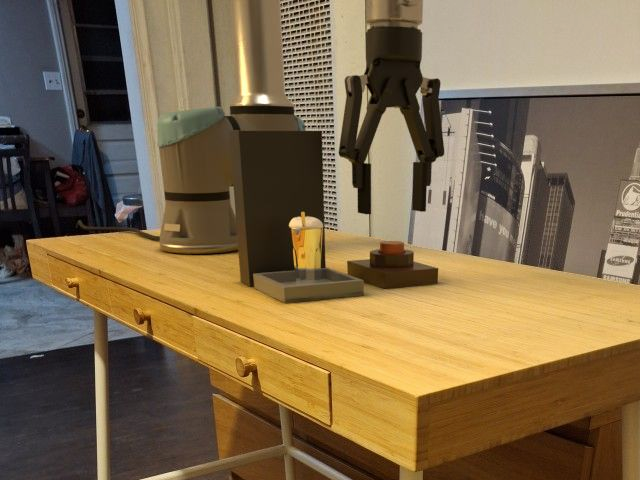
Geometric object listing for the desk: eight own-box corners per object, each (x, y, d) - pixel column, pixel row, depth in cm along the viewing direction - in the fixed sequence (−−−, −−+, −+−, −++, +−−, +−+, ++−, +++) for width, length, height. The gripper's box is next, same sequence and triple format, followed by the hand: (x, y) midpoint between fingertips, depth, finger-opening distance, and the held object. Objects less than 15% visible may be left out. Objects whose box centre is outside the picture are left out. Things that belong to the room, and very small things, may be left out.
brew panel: (347, 275, 117) (346, 248, 115) (397, 271, 120) (398, 244, 119) (384, 288, 107) (384, 259, 105) (438, 283, 111) (439, 255, 109)
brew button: (375, 254, 113) (375, 241, 112) (396, 252, 114) (396, 240, 114) (387, 257, 110) (387, 244, 109) (408, 255, 112) (408, 243, 111)
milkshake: (289, 290, 102) (285, 211, 98) (294, 283, 107) (290, 207, 103) (322, 291, 102) (320, 212, 98) (326, 283, 107) (324, 208, 103)
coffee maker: (240, 282, 111) (228, 130, 102) (315, 275, 116) (310, 130, 107) (283, 303, 98) (274, 131, 89) (365, 295, 103) (364, 131, 94)
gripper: (333, 19, 92) (337, 217, 102) (476, 29, 101) (467, 211, 111) (308, 25, 98) (314, 212, 108) (446, 35, 107) (439, 207, 117)
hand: (392, 211), depth 109 cm, fingers open, 8 cm apart
